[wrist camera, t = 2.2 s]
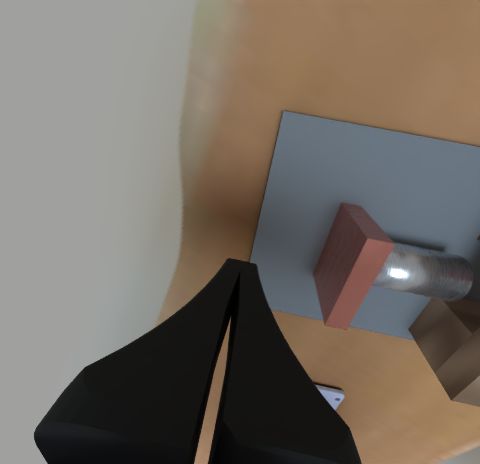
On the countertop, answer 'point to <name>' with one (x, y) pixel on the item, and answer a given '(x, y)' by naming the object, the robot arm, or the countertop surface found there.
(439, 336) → the block
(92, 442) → the robot arm
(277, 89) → the countertop surface
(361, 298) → the pin
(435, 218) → the mat
